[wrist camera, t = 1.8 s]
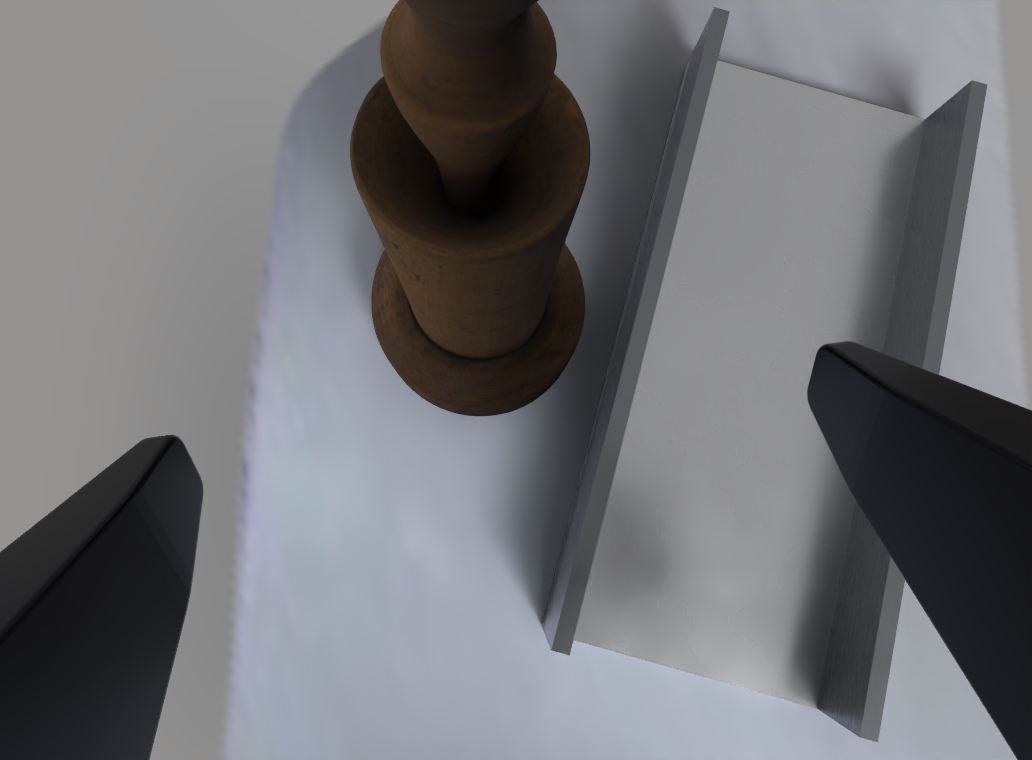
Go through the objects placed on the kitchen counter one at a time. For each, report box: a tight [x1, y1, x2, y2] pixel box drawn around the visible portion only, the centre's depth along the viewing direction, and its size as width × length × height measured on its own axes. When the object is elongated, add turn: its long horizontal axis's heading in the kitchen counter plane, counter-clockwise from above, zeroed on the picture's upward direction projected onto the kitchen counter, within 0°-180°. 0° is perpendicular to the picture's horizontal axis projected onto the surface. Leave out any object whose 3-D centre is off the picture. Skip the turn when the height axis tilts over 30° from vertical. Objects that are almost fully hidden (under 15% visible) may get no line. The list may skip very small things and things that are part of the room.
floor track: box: [542, 7, 987, 742], centre depth 20 cm, size 20×9×3 cm, turn 164°
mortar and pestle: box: [350, 0, 590, 416], centre depth 13 cm, size 7×6×18 cm
